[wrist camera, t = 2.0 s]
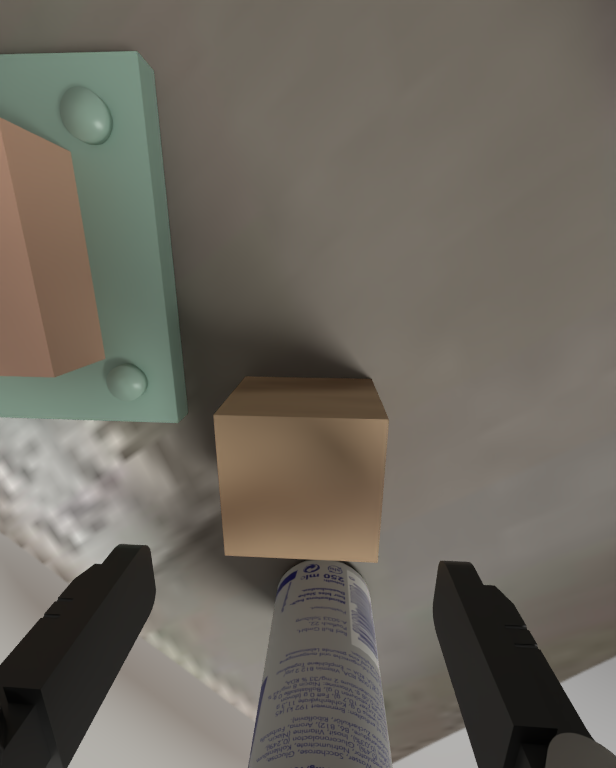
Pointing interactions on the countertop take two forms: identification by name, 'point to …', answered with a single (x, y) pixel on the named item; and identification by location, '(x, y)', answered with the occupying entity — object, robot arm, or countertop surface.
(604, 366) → the countertop surface
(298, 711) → the energy drink
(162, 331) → the plate
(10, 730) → the robot arm
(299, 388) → the walnut block
